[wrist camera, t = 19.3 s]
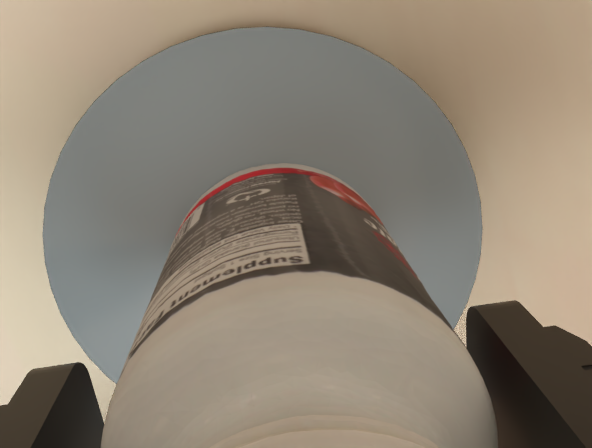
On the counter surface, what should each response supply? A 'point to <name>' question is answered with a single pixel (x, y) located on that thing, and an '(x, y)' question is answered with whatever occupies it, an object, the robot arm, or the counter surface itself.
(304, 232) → the pill bottle
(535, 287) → the counter surface
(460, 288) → the dish
